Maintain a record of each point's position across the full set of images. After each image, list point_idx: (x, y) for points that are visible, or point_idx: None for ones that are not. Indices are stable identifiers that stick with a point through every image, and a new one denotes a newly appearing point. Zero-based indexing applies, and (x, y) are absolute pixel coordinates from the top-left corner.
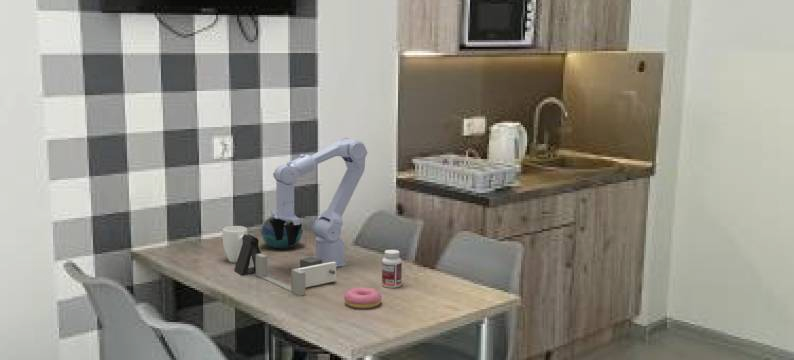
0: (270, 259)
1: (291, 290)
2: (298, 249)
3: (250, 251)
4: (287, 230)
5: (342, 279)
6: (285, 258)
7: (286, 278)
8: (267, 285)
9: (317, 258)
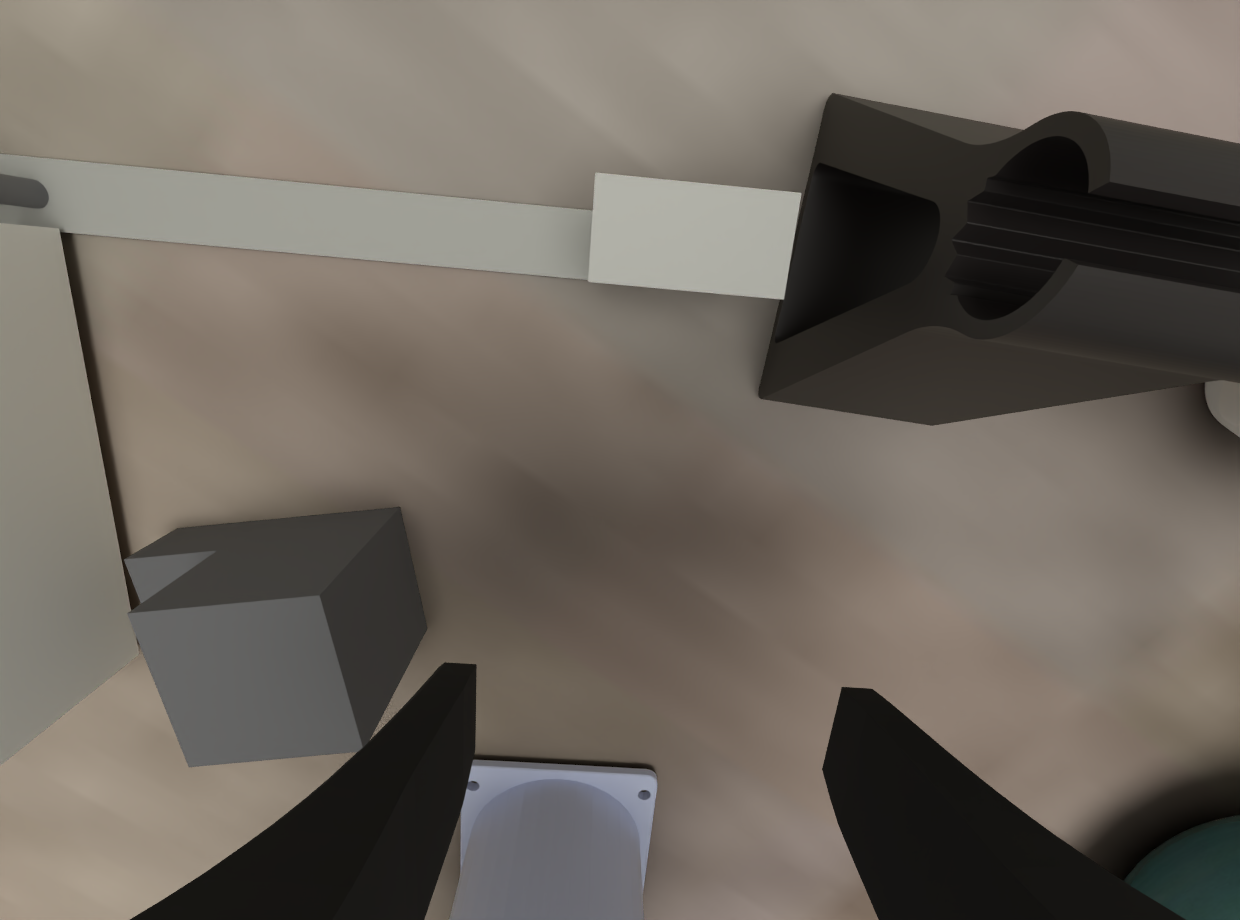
0: (1023, 632)
1: (17, 167)
2: None
3: (933, 164)
4: (238, 907)
5: (163, 720)
6: (944, 732)
7: (449, 400)
8: (349, 97)
9: (257, 757)
